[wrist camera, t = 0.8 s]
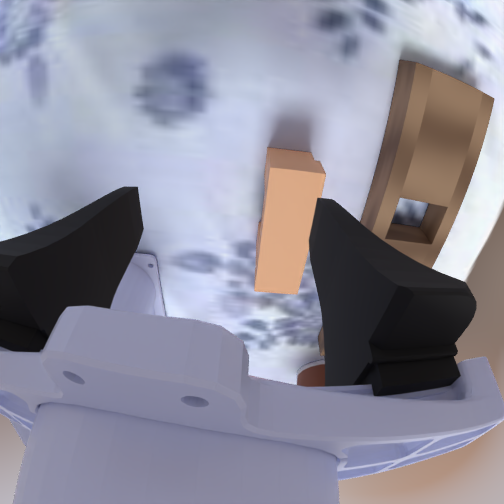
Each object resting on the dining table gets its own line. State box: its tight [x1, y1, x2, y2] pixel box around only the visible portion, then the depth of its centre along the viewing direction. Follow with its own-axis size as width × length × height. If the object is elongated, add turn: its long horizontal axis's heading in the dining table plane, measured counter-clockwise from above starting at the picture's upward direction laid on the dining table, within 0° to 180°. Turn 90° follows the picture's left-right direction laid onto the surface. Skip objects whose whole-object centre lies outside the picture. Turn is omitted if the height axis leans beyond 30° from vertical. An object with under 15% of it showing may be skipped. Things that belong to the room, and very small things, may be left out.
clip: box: [254, 147, 326, 294], centre depth 20 cm, size 9×3×5 cm, turn 175°
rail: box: [318, 60, 494, 356], centre depth 22 cm, size 28×7×2 cm, turn 175°
